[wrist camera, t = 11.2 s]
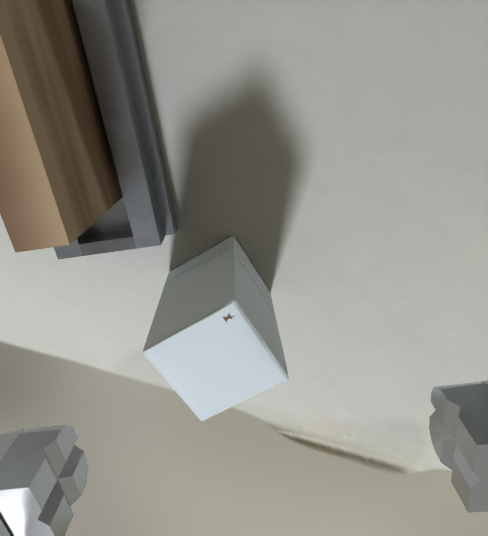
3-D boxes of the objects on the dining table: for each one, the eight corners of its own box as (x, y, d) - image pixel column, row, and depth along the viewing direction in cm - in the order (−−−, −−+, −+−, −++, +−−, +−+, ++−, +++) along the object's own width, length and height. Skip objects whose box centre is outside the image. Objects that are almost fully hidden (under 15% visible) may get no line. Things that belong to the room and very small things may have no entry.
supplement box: (166, 271, 37) (137, 350, 25) (234, 233, 35) (236, 297, 24) (208, 329, 39) (199, 425, 28) (273, 295, 38) (292, 380, 26)
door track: (111, -81, 26) (92, -111, 23) (176, 228, 35) (170, 243, 31) (-33, -58, 27) (-75, -84, 23) (67, 244, 35) (48, 260, 32)
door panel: (72, -6, 27) (-38, -81, 16) (124, 195, 32) (69, 244, 21) (29, 1, 27) (-110, -69, 16) (88, 201, 32) (15, 252, 21)
